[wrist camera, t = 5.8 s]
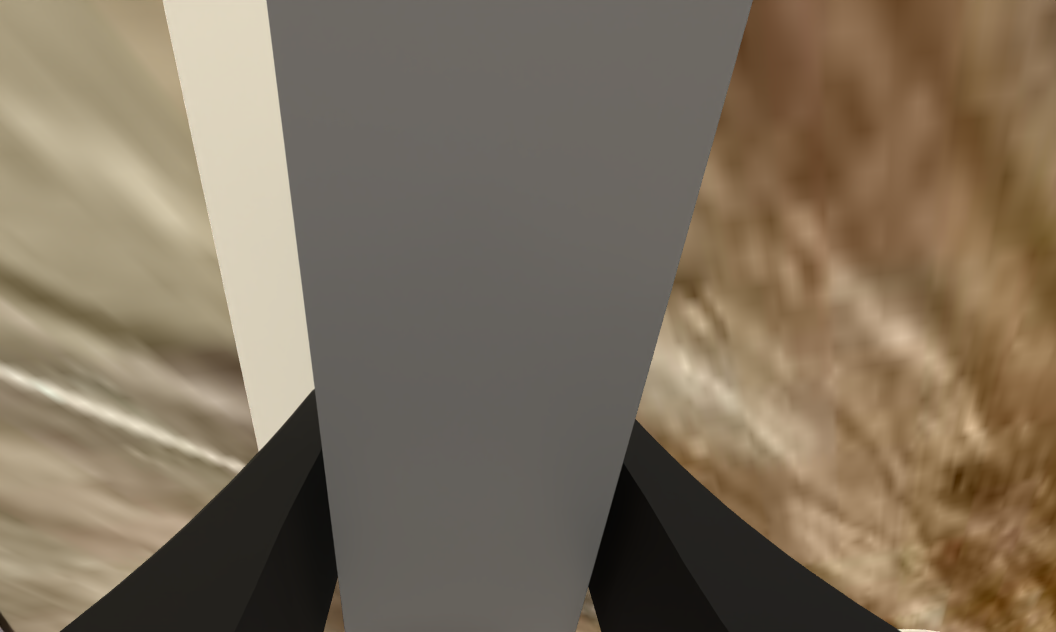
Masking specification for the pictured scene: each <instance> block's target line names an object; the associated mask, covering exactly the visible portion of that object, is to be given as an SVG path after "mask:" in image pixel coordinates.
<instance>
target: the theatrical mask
mask: <svg viewBox="0 0 1056 632" xmlns="http://www.w3.org/2000/svg"><path fill="white" fill-rule="evenodd" d="M898 630H900V631H901V632H937V631H930V630H918V629H898Z"/></svg>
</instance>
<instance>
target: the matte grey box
mask: <svg viewBox="0 0 1056 632" xmlns="http://www.w3.org/2000/svg"><path fill="white" fill-rule="evenodd" d="M266 1H267V10H268V18H269V26H270V34H271V42H272V50H273V58H274V66H275V74H276V82H277V90H278V98H279V106H280V114H281V122H282V130H283V138H284V146H285V154H286V162H287V170H288V178H289V186H290V194H291V202H292V210H293V218H294V226H295V235H296V243H297V251H298V259H299V267H300V275H301V283H302V291H303V299H304V307H305V315H306V323H307V331H308V339H309V347H310V355H311V363H312V371H313V379H314V387H315V395H316V403H317V411H318V419H319V427H320V435H321V443H322V451H323V460H324V468H325V476H326V484H327V492H328V500H329V508H330V516H331V524H332V532H333V540H334V548H335V556H336V564H337V572H338V580H339V588H340V596H341V604H342V612H343V620H344V628H345V632H575V631H576V628H577V624H578V621H579V617H580V614H581V610H582V606H583V603H584V599H585V596H586V592H587V589H588V585H589V582H590V578H591V574H592V571H593V567H594V564H595V560H596V557H597V553H598V549H599V546H600V542H601V539H602V535H603V532H604V528H605V525H606V521H607V517H608V514H609V510H610V507H611V503H612V500H613V496H614V493H615V489H616V485H617V482H618V478H619V475H620V471H621V468H622V464H623V460H624V457H625V453H626V450H627V446H628V443H629V439H630V436H631V432H632V428H633V425H634V421H635V418H636V414H637V411H638V407H639V403H640V400H641V396H642V393H643V389H644V386H645V382H646V379H647V375H648V371H649V368H650V364H651V361H652V357H653V354H654V350H655V347H656V343H657V339H658V336H659V332H660V329H661V325H662V322H663V318H664V314H665V311H666V307H667V304H668V300H669V297H670V293H671V290H672V286H673V282H674V279H675V275H676V272H677V268H678V265H679V261H680V257H681V254H682V250H683V247H684V243H685V240H686V236H687V233H688V229H689V225H690V222H691V218H692V215H693V211H694V208H695V204H696V200H697V197H698V193H699V190H700V186H701V183H702V179H703V176H704V172H705V168H706V165H707V161H708V158H709V154H710V151H711V147H712V144H713V140H714V136H715V133H716V129H717V126H718V122H719V119H720V115H721V111H722V108H723V104H724V101H725V97H726V94H727V90H728V87H729V83H730V79H731V76H732V72H733V69H734V65H735V62H736V58H737V54H738V51H739V47H740V44H741V40H742V37H743V33H744V30H745V26H746V22H747V19H748V15H749V12H750V8H751V5H752V1H753V0H266Z"/></svg>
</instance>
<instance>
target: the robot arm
mask: <svg viewBox="0 0 1056 632" xmlns="http://www.w3.org/2000/svg"><path fill="white" fill-rule="evenodd" d="M337 578H338V572H337V564H336V556H335V548H334V540H333V532H332V524H331V516H330V508H329V500H328V492H327V484H326V476H325V468H324V460H323V451H322V443H321V435H320V427H319V419H318V411H317V403H316V395H315V389H313V390H312V391H311V392H310V394H309V395H308V396H307V397H306V398H305V400H304V401H303V402H302V403H301V404H300V406H299V407H298V408H297V409H296V410H295V411H294V413H293V414H292V415H291V416H290V417H289V419H288V420H287V421H286V422H285V423H284V424H283V425H282V427H281V428H280V429H279V430H278V431H277V432H276V433H275V435H274V436H273V437H272V438H271V439H270V440H269V441H268V442H267V443H266V445H265V446H264V447H263V448H262V449H261V450H260V451H259V452H258V453H257V454H256V455H255V456H254V457H253V458H252V460H251V461H250V462H249V463H248V464H247V465H246V466H245V467H244V468H243V469H242V470H241V471H240V472H239V473H238V475H237V476H236V477H235V478H234V479H233V480H232V481H231V482H230V483H229V484H228V485H227V486H226V487H225V488H224V489H223V490H222V491H221V492H220V493H219V494H217V495H216V496H215V497H214V498H213V499H212V500H211V501H210V502H209V503H208V504H207V505H206V506H205V507H204V508H203V509H202V510H201V511H200V512H199V513H198V514H197V515H196V516H195V517H194V518H193V519H192V520H191V521H190V522H189V523H188V524H187V525H186V526H185V527H183V528H182V529H181V530H180V531H179V532H178V533H177V534H176V535H175V536H174V537H173V538H171V539H170V540H169V541H168V542H167V543H166V544H165V545H164V546H163V547H161V548H160V549H159V550H158V551H157V552H156V553H155V554H154V555H152V556H151V557H150V558H149V559H148V560H147V561H146V562H144V563H143V564H142V565H141V566H140V567H138V568H137V569H136V570H135V571H134V572H133V573H131V574H130V575H129V576H128V577H127V578H126V579H124V580H123V581H122V582H121V583H120V584H119V585H117V586H116V587H115V588H114V589H113V590H111V591H110V592H109V593H108V594H106V595H105V596H104V597H103V598H101V599H100V600H99V601H98V602H96V603H95V604H94V605H93V606H91V607H90V608H89V609H88V610H86V611H85V612H84V613H83V614H81V615H80V616H79V617H78V618H76V619H75V620H74V621H73V622H71V623H70V624H69V625H68V626H66V627H65V628H64V629H63V630H61V631H60V632H323V631H324V628H325V624H326V620H327V616H328V612H329V608H330V605H331V601H332V597H333V593H334V589H335V586H336V582H337ZM588 587H589V590H590V594H591V597H592V601H593V604H594V608H595V611H596V615H597V618H598V622H599V625H600V629H601V632H901V631H900V630H898V629H896V628H895V627H893V626H891V625H890V624H888V623H887V622H885V621H884V620H882V619H881V618H879V617H877V616H876V615H874V614H873V613H871V612H870V611H868V610H867V609H865V608H863V607H862V606H860V605H859V604H857V603H856V602H854V601H853V600H851V599H850V598H848V597H847V596H846V595H844V594H843V593H841V592H840V591H838V590H837V589H835V588H834V587H832V586H831V585H830V584H828V583H827V582H825V581H824V580H822V579H821V578H819V577H818V576H816V575H815V574H814V573H812V572H811V571H809V570H808V569H806V568H805V567H804V566H802V565H801V564H800V563H798V562H797V561H795V560H794V559H793V558H791V557H790V556H789V555H787V554H786V553H784V552H783V551H782V550H781V549H779V548H778V547H777V546H775V545H774V544H773V543H772V542H770V541H769V540H768V539H766V538H765V537H764V536H763V535H761V534H760V533H759V532H758V531H756V530H755V529H754V528H752V527H751V526H750V525H749V524H747V523H746V522H745V521H744V520H742V519H741V518H740V517H739V516H738V515H736V514H735V513H734V512H733V511H731V510H730V509H729V508H728V507H727V506H726V505H724V504H723V503H722V502H721V501H720V500H719V499H718V498H717V497H715V496H714V495H713V494H712V493H711V492H710V491H709V490H708V489H706V488H705V487H704V486H703V485H702V484H701V483H700V482H699V481H697V480H696V479H695V478H694V477H693V476H692V475H691V474H690V473H689V472H688V471H687V470H686V469H685V468H684V467H682V466H681V465H680V464H679V463H678V462H677V461H676V460H675V459H674V458H673V457H672V456H671V455H670V454H669V453H668V452H667V451H666V450H665V449H664V448H663V447H662V446H661V445H660V444H659V443H658V442H657V441H656V440H655V439H654V438H653V437H652V436H651V435H650V434H649V433H648V432H647V431H646V430H645V429H644V428H643V427H642V426H641V425H640V423H639V422H638V421H637V420H636V419H635V421H634V425H633V428H632V432H631V436H630V439H629V443H628V446H627V450H626V453H625V457H624V460H623V464H622V468H621V471H620V475H619V478H618V482H617V485H616V489H615V493H614V496H613V500H612V503H611V507H610V510H609V514H608V517H607V521H606V525H605V528H604V532H603V535H602V539H601V542H600V546H599V549H598V553H597V557H596V560H595V564H594V567H593V571H592V574H591V578H590V582H589V585H588ZM0 632H4V631H3V630H2V629H1V627H0Z"/></svg>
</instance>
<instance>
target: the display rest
mask: <svg viewBox="0 0 1056 632" xmlns="http://www.w3.org/2000/svg"><path fill="white" fill-rule="evenodd" d="M163 4H164V9H165V14H166V18H167V23H168V28H169V32H170V37H171V42H172V47H173V51H174V56H175V61H176V65H177V70H178V75H179V79H180V84H181V89H182V93H183V98H184V103H185V107H186V112H187V117H188V122H189V126H190V131H191V136H192V140H193V145H194V150H195V154H196V159H197V164H198V168H199V173H200V178H201V182H202V187H203V192H204V196H205V201H206V206H207V211H208V215H209V220H210V225H211V229H212V234H213V239H214V243H215V248H216V253H217V257H218V262H219V267H220V271H221V276H222V281H223V286H224V290H225V295H226V300H227V304H228V309H229V314H230V318H231V323H232V328H233V332H234V337H235V342H236V346H237V351H238V356H239V361H240V365H241V370H242V375H243V379H244V384H245V389H246V393H247V398H248V403H249V407H250V412H251V417H252V421H253V426H254V431H255V435H256V440H257V445H258V450H259V451H260V450H261V449H262V448H263V447H264V446H265V445H266V443H267V442H268V441H269V440H270V439H271V438H272V437H273V436H274V435H275V433H276V432H277V431H278V430H279V429H280V428H281V427H282V425H283V424H284V423H285V422H286V421H287V420H288V419H289V417H290V416H291V415H292V414H293V413H294V411H295V410H296V409H297V408H298V407H299V406H300V404H301V403H302V402H303V401H304V400H305V398H306V397H307V396H308V395H309V394H310V392H311V391H312V390H313V389H315V387H314V379H313V371H312V363H311V355H310V347H309V339H308V331H307V323H306V315H305V307H304V299H303V291H302V283H301V275H300V267H299V259H298V251H297V243H296V235H295V226H294V218H293V210H292V202H291V194H290V186H289V178H288V170H287V162H286V154H285V146H284V138H283V130H282V122H281V114H280V106H279V98H278V90H277V82H276V74H275V66H274V58H273V50H272V42H271V34H270V26H269V18H268V10H267V1H266V0H163Z"/></svg>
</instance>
